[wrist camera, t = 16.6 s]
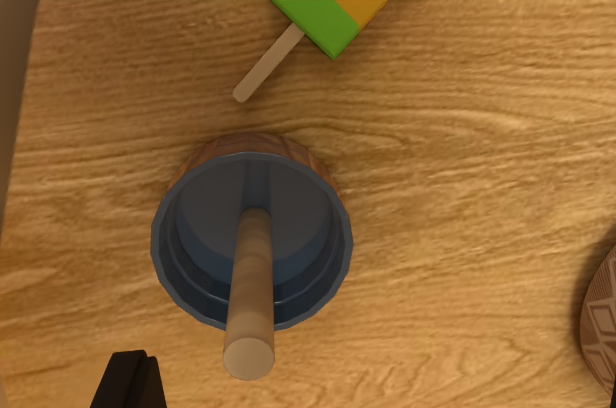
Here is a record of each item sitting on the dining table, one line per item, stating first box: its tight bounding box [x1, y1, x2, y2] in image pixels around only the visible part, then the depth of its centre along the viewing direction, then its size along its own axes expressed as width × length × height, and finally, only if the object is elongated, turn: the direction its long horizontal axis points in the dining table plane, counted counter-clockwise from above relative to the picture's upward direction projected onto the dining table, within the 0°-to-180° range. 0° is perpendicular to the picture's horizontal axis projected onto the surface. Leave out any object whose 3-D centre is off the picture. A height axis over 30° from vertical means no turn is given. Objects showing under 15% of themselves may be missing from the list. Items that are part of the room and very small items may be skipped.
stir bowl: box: [150, 132, 353, 331], centre depth 35 cm, size 12×12×5 cm
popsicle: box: [232, 0, 388, 102], centre depth 32 cm, size 6×15×2 cm, turn 137°
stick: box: [223, 207, 275, 381], centre depth 30 cm, size 2×2×15 cm
